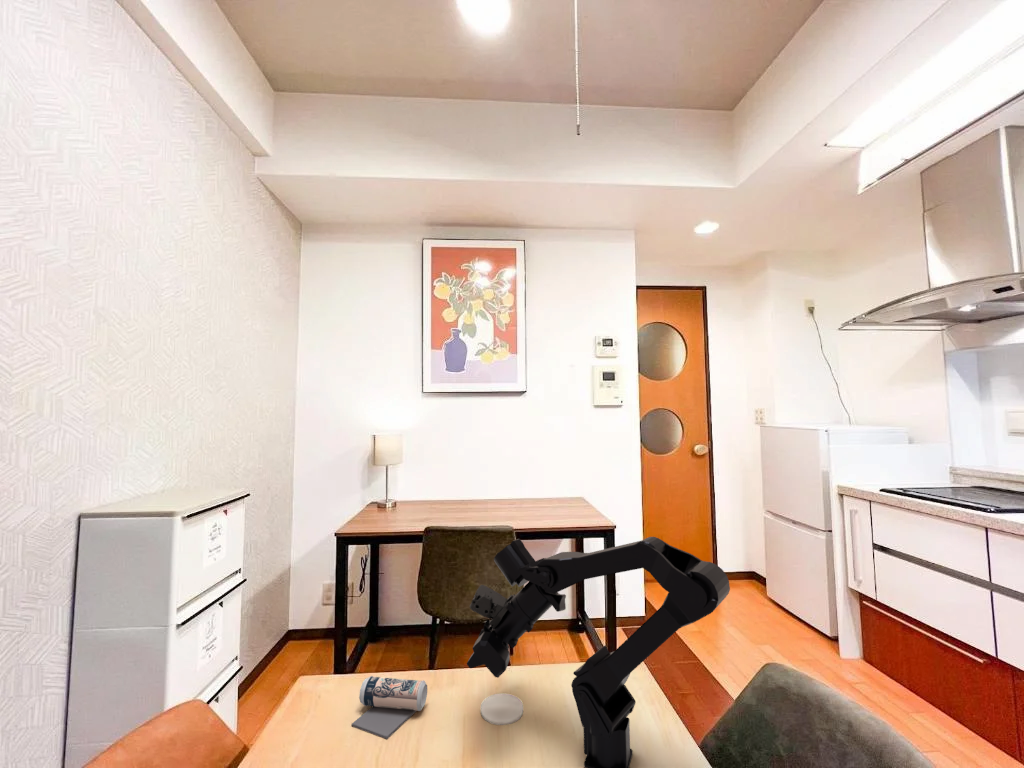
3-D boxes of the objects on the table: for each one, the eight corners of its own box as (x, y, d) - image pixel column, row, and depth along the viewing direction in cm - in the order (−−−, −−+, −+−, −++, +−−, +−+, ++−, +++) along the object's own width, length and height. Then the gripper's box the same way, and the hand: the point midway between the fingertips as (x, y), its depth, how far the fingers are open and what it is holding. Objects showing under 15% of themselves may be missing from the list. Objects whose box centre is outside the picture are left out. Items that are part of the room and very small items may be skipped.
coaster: (529, 704, 86) (529, 699, 86) (512, 730, 78) (512, 725, 78) (492, 693, 89) (492, 689, 89) (472, 717, 82) (472, 712, 82)
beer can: (419, 691, 81) (357, 686, 83) (419, 718, 81) (358, 712, 83) (428, 674, 86) (369, 670, 88) (428, 699, 86) (370, 694, 88)
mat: (422, 705, 85) (422, 703, 85) (387, 739, 76) (387, 736, 76) (389, 695, 88) (389, 693, 89) (351, 726, 79) (351, 723, 80)
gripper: (505, 558, 93) (454, 610, 94) (485, 591, 74) (421, 656, 75) (543, 600, 91) (490, 653, 91) (532, 644, 72) (466, 710, 73)
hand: (468, 665), depth 83 cm, fingers closed
